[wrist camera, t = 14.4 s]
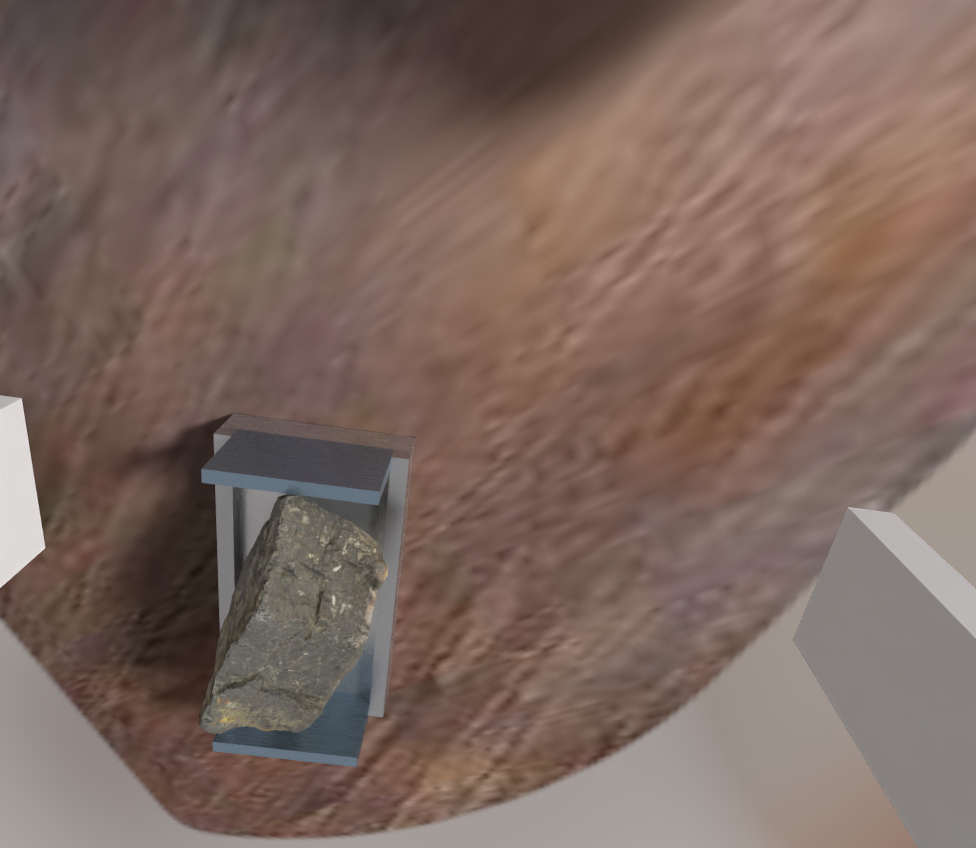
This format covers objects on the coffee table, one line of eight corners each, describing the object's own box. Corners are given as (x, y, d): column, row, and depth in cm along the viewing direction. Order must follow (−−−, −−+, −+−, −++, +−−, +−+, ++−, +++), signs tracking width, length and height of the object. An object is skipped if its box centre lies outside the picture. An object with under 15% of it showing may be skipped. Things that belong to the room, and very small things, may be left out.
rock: (372, 742, 41) (201, 763, 38) (364, 646, 46) (213, 658, 43) (404, 572, 30) (171, 584, 28) (390, 472, 35) (192, 473, 33)
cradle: (233, 413, 39) (181, 466, 32) (415, 437, 39) (398, 494, 33) (238, 666, 47) (196, 749, 40) (389, 683, 47) (372, 768, 41)
